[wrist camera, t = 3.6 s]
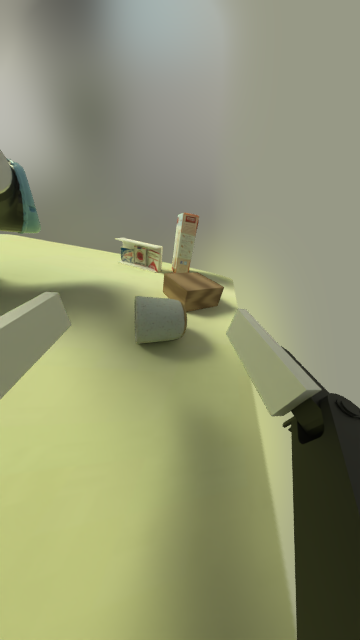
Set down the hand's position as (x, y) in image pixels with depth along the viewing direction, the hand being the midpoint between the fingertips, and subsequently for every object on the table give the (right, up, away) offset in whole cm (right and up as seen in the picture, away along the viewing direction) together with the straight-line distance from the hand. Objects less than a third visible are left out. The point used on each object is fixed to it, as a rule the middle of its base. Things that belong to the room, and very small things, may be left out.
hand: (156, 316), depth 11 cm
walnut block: (+5, +6, +29) cm, 30 cm away
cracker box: (+2, +21, +50) cm, 54 cm away
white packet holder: (-16, +23, +48) cm, 56 cm away
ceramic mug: (-3, -3, +15) cm, 16 cm away
